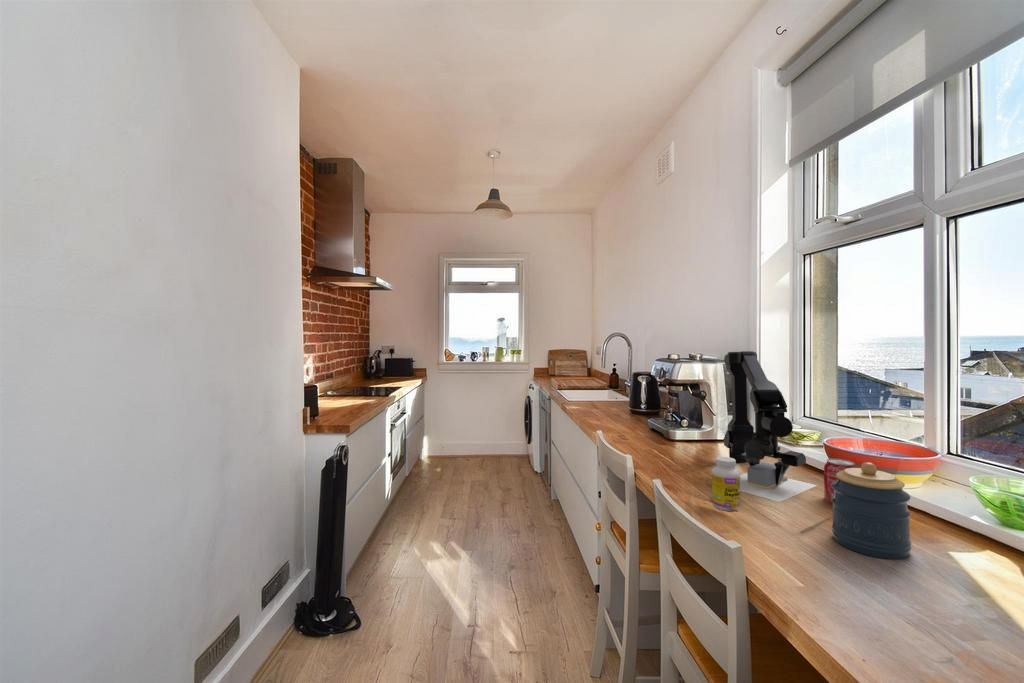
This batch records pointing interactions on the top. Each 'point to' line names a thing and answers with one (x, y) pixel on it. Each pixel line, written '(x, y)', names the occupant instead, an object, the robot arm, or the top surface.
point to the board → (775, 489)
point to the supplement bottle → (725, 484)
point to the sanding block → (762, 476)
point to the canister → (871, 512)
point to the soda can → (833, 475)
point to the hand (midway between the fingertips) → (767, 482)
